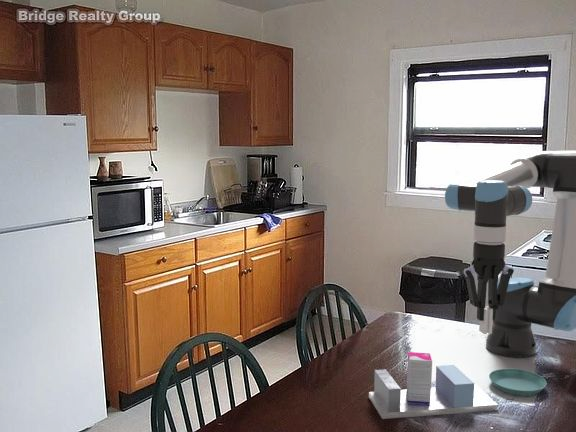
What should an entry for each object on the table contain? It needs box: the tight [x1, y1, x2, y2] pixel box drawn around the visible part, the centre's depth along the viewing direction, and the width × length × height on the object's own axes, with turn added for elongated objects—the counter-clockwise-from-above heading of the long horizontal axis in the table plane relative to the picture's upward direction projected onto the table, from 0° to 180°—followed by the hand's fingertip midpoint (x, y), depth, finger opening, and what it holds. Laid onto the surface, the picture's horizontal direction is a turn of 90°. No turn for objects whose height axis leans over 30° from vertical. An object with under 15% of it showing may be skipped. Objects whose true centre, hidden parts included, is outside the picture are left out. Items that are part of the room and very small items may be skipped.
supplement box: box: [406, 351, 433, 404], centre depth 149 cm, size 6×6×12 cm
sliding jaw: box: [435, 364, 475, 408], centre depth 150 cm, size 5×12×6 cm, turn 8°
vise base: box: [368, 368, 499, 420], centre depth 150 cm, size 30×12×8 cm, turn 98°
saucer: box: [488, 368, 548, 397], centre depth 160 cm, size 15×15×3 cm
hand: (485, 332), depth 149 cm, fingers closed
